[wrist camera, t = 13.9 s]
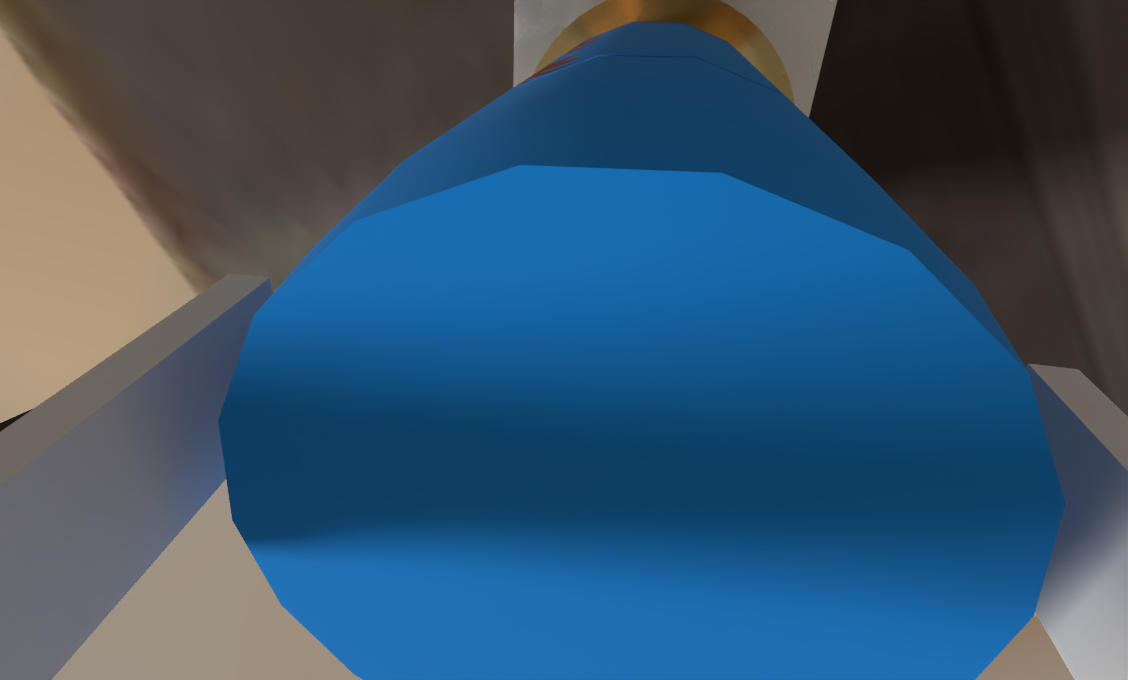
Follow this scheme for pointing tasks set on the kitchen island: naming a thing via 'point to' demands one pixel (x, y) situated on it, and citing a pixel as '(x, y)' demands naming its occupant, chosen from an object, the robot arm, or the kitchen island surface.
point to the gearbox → (710, 3)
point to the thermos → (640, 402)
